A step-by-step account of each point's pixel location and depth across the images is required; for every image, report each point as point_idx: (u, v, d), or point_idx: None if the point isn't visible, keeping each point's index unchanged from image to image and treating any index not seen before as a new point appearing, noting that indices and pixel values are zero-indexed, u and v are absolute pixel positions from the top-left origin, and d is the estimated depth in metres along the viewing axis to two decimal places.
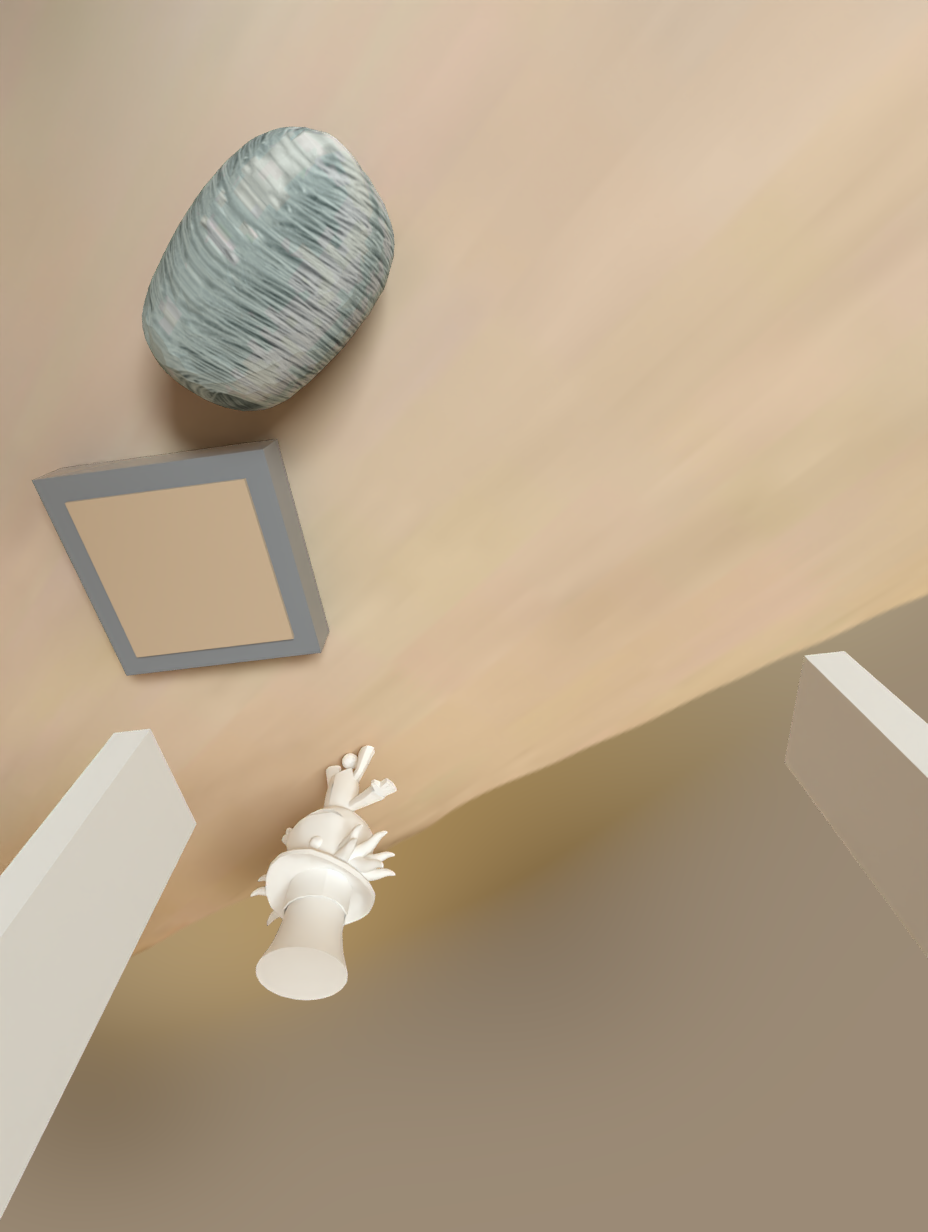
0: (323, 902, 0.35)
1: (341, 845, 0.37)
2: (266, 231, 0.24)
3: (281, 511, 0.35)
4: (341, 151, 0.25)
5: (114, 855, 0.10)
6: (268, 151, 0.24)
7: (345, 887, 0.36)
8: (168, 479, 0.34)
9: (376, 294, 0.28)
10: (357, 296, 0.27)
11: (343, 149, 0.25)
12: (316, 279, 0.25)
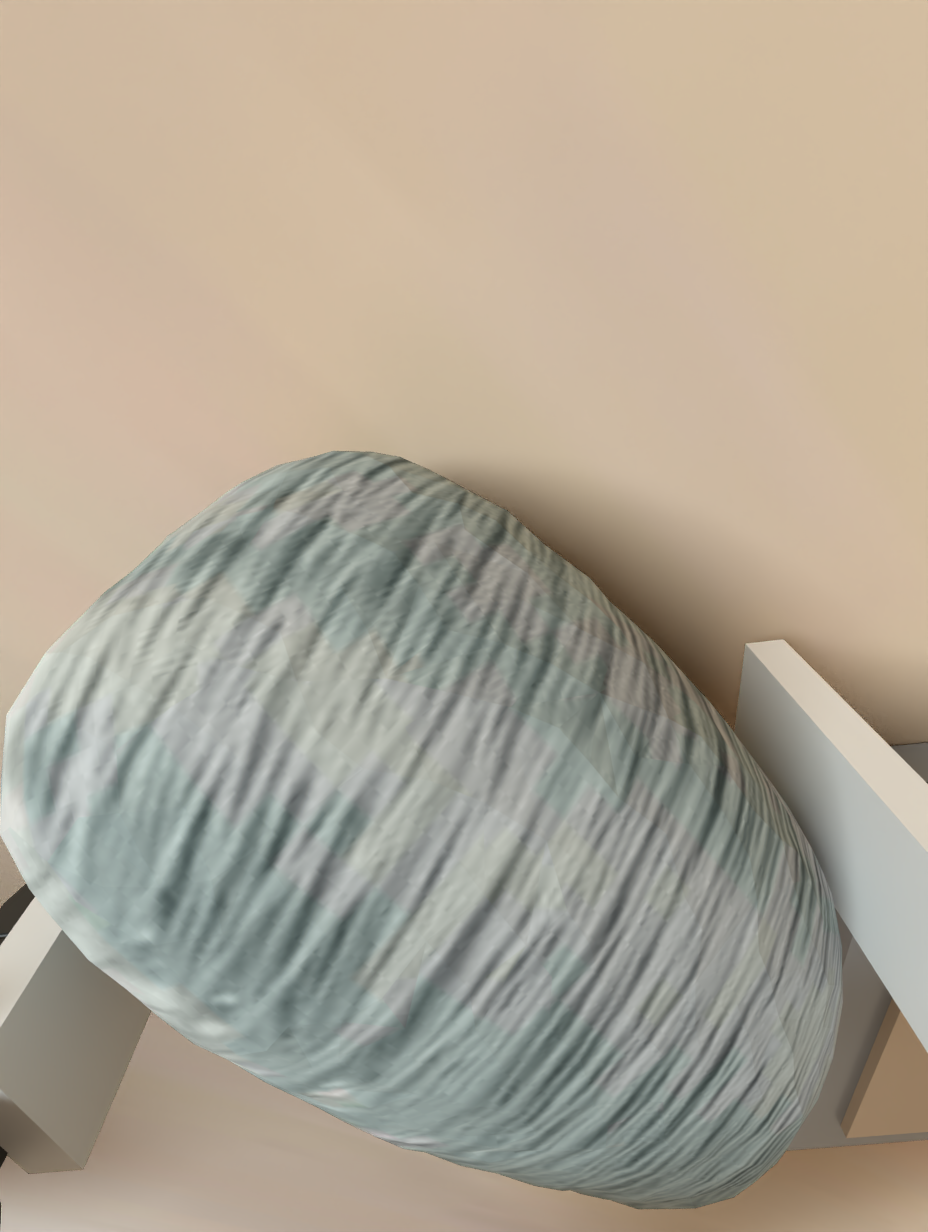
0: None
1: None
2: (322, 1070, 0.06)
3: None
4: (29, 696, 0.06)
5: None
6: None
7: None
8: (867, 1012, 0.15)
9: (535, 564, 0.07)
10: (563, 693, 0.06)
11: (33, 677, 0.06)
12: (502, 922, 0.05)
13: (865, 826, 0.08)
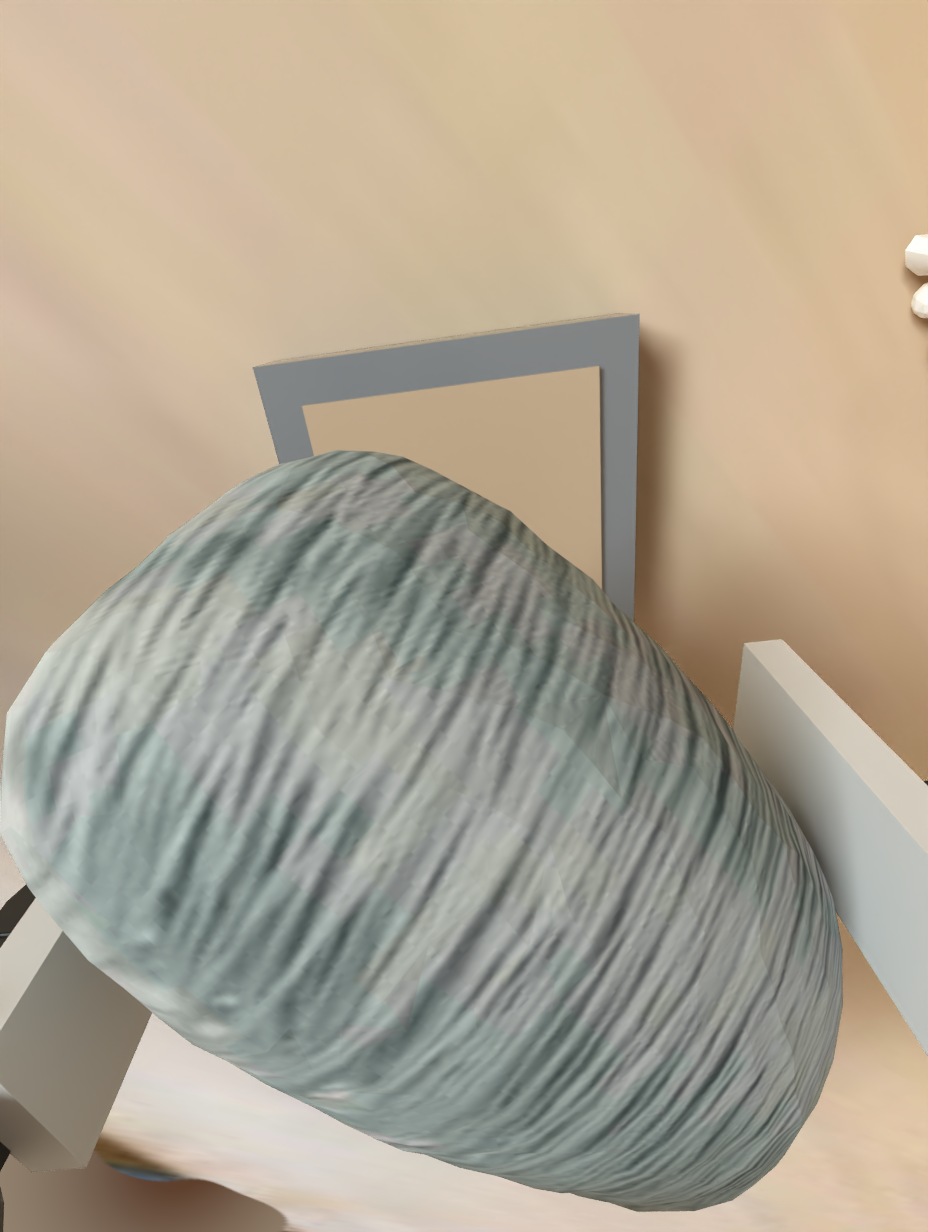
0: None
1: None
2: (324, 1072, 0.06)
3: (354, 353, 0.21)
4: (30, 694, 0.06)
5: None
6: None
7: None
8: None
9: (539, 565, 0.07)
10: (567, 695, 0.06)
11: (34, 675, 0.06)
12: (506, 924, 0.05)
13: (862, 825, 0.08)
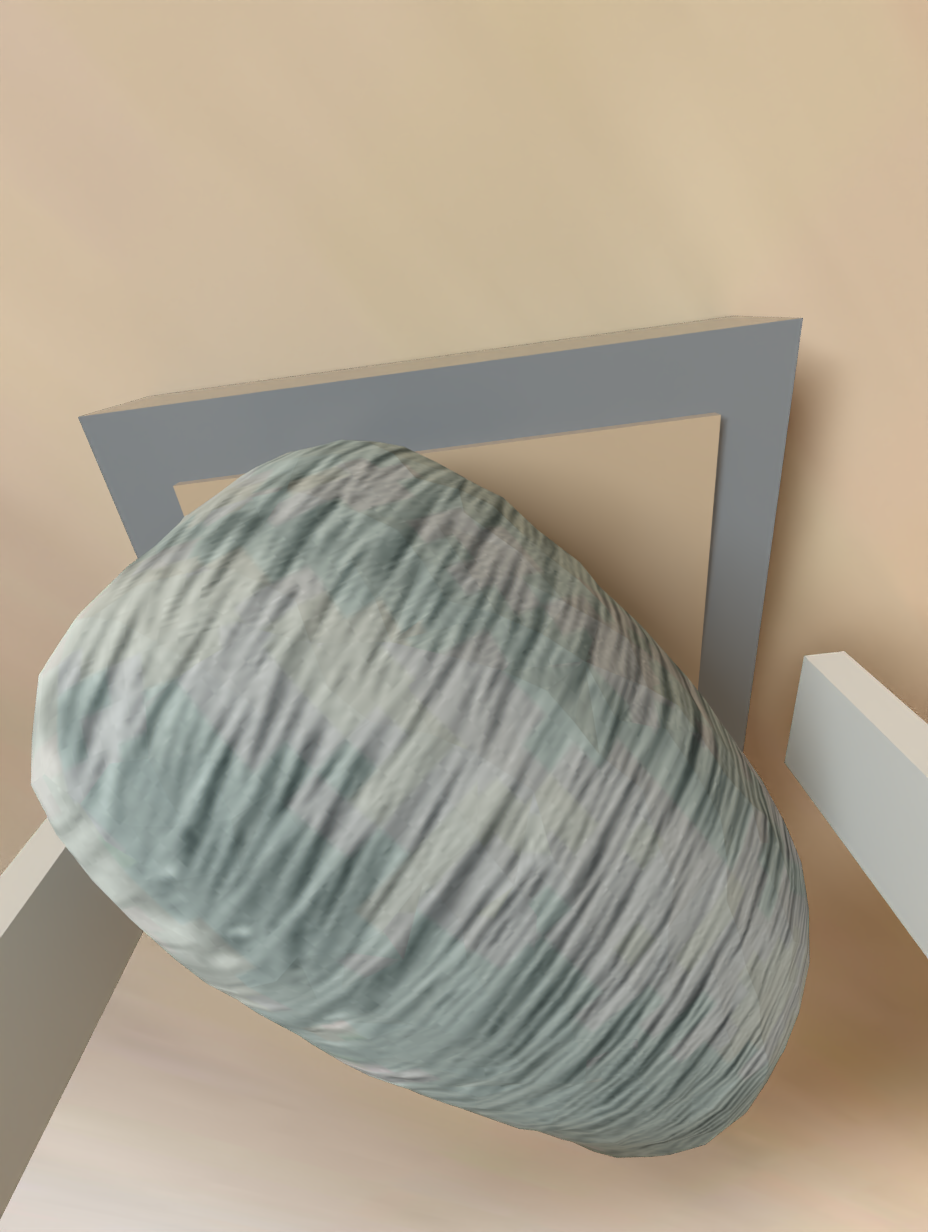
0: None
1: None
2: (327, 1001, 0.06)
3: (265, 390, 0.11)
4: (61, 657, 0.06)
5: None
6: None
7: None
8: None
9: (528, 545, 0.07)
10: (552, 661, 0.06)
11: (64, 640, 0.07)
12: (493, 864, 0.06)
13: None
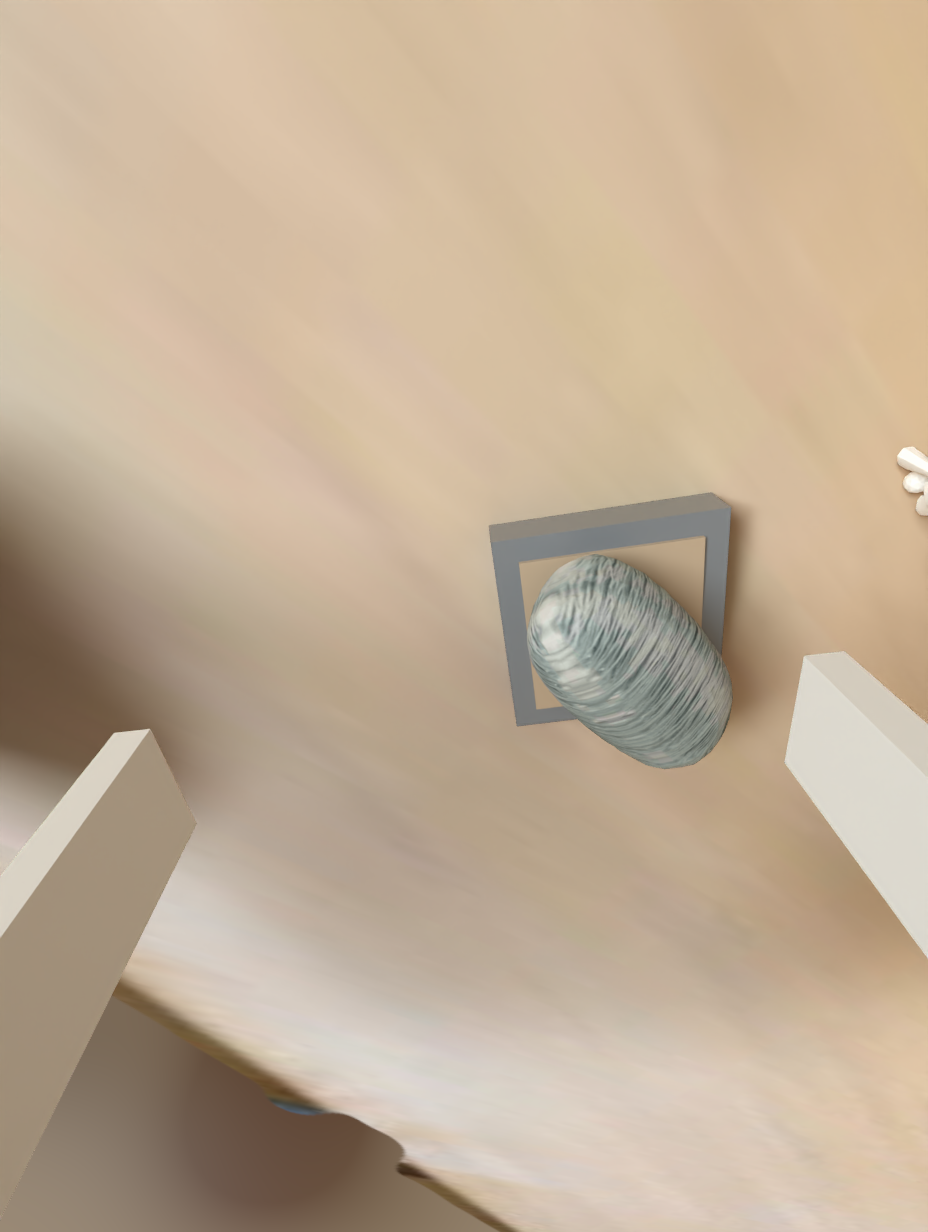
0: None
1: None
2: (616, 687, 0.29)
3: (553, 533, 0.34)
4: (554, 614, 0.29)
5: (114, 855, 0.10)
6: (555, 671, 0.30)
7: None
8: (518, 627, 0.37)
9: (654, 587, 0.30)
10: (664, 613, 0.29)
11: (551, 611, 0.29)
12: (654, 653, 0.28)
13: None
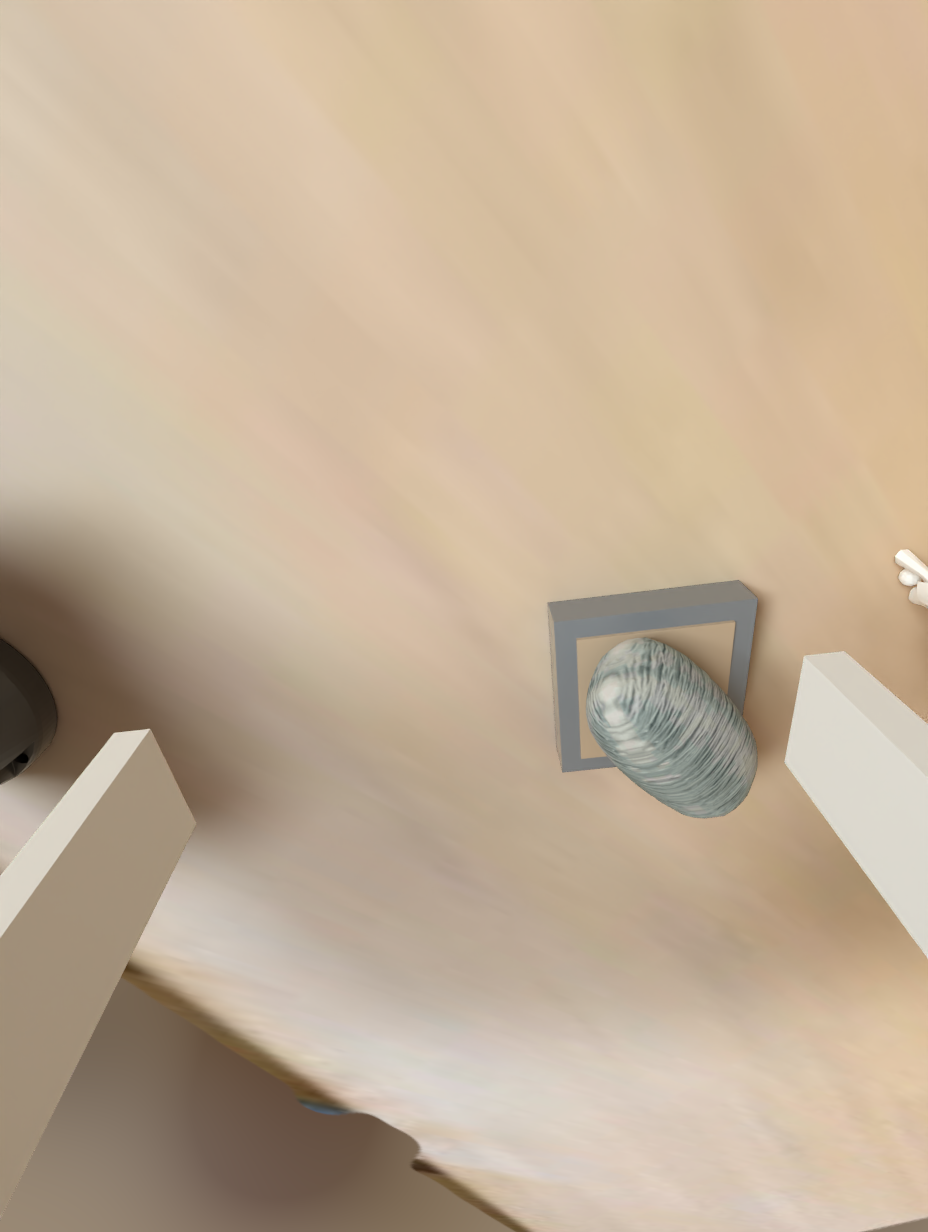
0: None
1: None
2: (666, 756, 0.35)
3: (608, 615, 0.40)
4: (616, 694, 0.35)
5: (114, 855, 0.10)
6: (615, 740, 0.36)
7: None
8: (571, 691, 0.43)
9: (698, 671, 0.36)
10: (707, 695, 0.35)
11: (613, 691, 0.35)
12: (699, 730, 0.34)
13: None
